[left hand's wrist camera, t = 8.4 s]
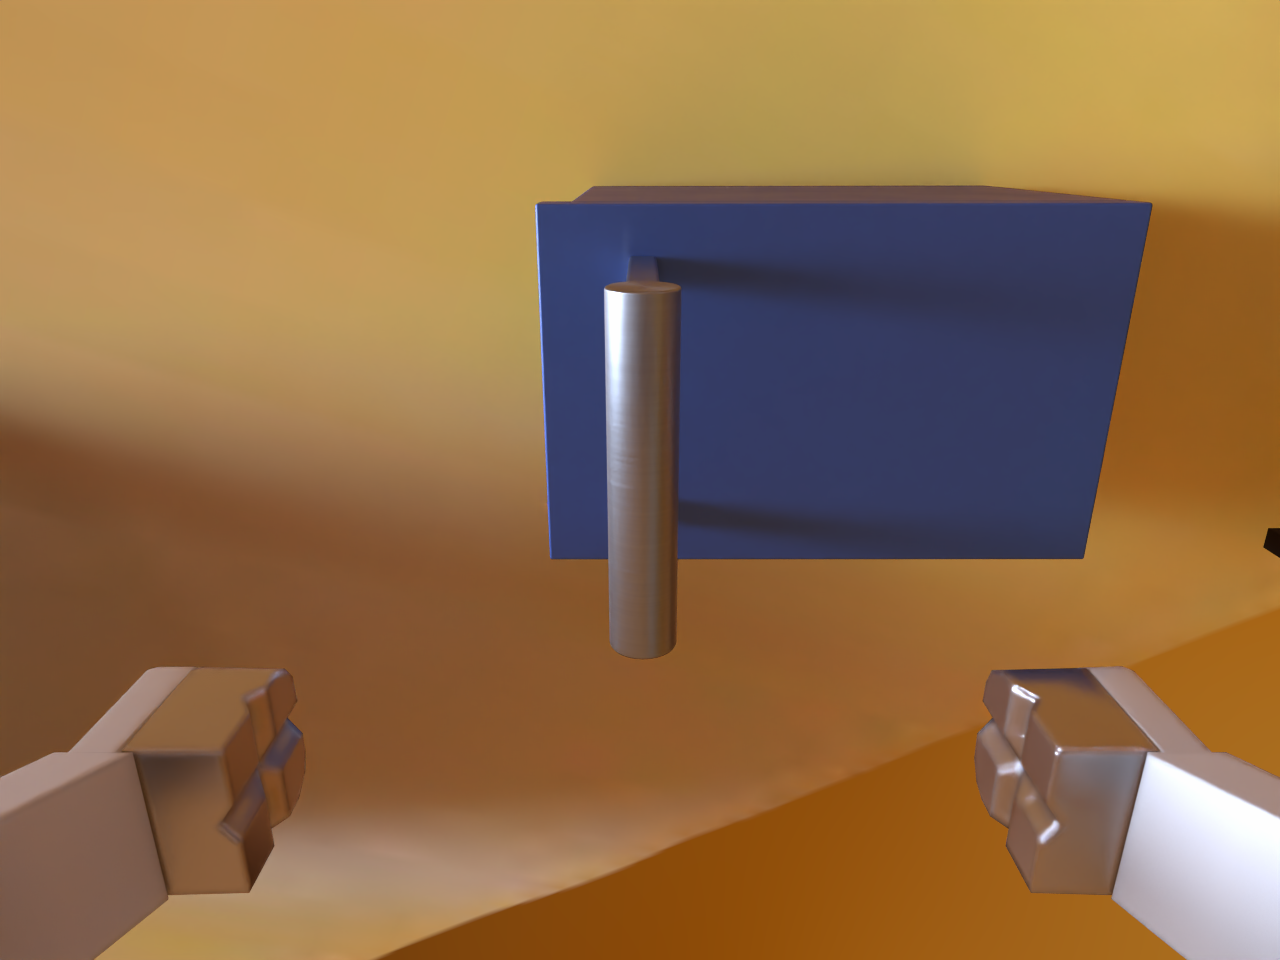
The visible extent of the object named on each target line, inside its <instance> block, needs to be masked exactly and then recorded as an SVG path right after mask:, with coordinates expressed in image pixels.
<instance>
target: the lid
mask: <svg viewBox="0 0 1280 960" xmlns="http://www.w3.org/2000/svg"><path fill="white" fill-rule="evenodd" d="M535 210H536V234H537V258H538V282H539V305H540V329H541V353H542V377H543V401H544V425H545V449H546V473H547V497H548V521H549V545H550V558H551V559H608V561H609V624H610V644H611V646H612V648H613V649H614V650H615V651H616V652H617V653H619V654H621V655H623V656H626V657H629V658H635V659H652V658H657V657H660V656H663V655H665V654H667V653H669V652H670V651H671V650H672V649H673V648H674V646H675V645H676V628H677V561H678V559H1083V558H1084V554H1085V549H1086V543H1087V538H1088V533H1089V528H1090V523H1091V518H1092V513H1093V508H1094V502H1095V497H1096V492H1097V487H1098V482H1099V477H1100V472H1101V467H1102V461H1103V456H1104V451H1105V446H1106V441H1107V436H1108V431H1109V426H1110V420H1111V415H1112V410H1113V405H1114V400H1115V395H1116V390H1117V385H1118V379H1119V374H1120V369H1121V364H1122V359H1123V354H1124V349H1125V343H1126V338H1127V333H1128V328H1129V323H1130V318H1131V313H1132V308H1133V302H1134V297H1135V292H1136V287H1137V282H1138V277H1139V272H1140V267H1141V261H1142V256H1143V251H1144V246H1145V241H1146V236H1147V231H1148V226H1149V220H1150V215H1151V210H1152V203H1149V202H1139V201H600V202H540V203H538V204H536V206H535Z"/></svg>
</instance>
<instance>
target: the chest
mask: <svg viewBox="0 0 1280 960" xmlns="http://www.w3.org/2000/svg"><path fill="white" fill-rule="evenodd" d="M600 201H1126V200H1119V199H1109V198H1099V197H1089V196H1080V195H1070V194H1060V193H1050V192H1041V191H1031V190H1021V189H1011V188H1002V187H992V186H594V187H592V188H590V189H589V190H587V191H586V192H585V193H583V194H582V195H580V196H579V197H578V198H576V199H575V200H574V201H572V202H600Z"/></svg>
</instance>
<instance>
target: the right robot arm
mask: <svg viewBox="0 0 1280 960" xmlns="http://www.w3.org/2000/svg"><path fill="white" fill-rule="evenodd" d="M1263 547H1264V548H1265V549H1267V550H1268V551H1270V552H1271V553H1273V554H1275V555H1276V556H1278V557H1279V558H1280V528H1268V531H1267V535H1266V539H1265V542H1264V546H1263Z"/></svg>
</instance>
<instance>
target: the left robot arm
mask: <svg viewBox="0 0 1280 960" xmlns="http://www.w3.org/2000/svg"><path fill="white" fill-rule="evenodd" d="M296 702H297V697H296V692H295V687H294V682H293V677H292V676H291V675H290V674H289V673H288V672H287V671H286V670H285V669H272V668H222V667H201V668H198V667H157V668H153V669H149V670H147V671H146V672H145V673H144V674H143V675H142V676H141V677H140V678H139V679H138V680H137V681H136V682H135V683H134V684H133V685H132V687H131V688H130V689H129V690H128V691H127V692H126V693H125V694H124V695H123V696H122V697H121V698H120V699H119V700H118V701H117V702H116V703H115V704H114V705H113V706H112V707H111V708H110V709H109V710H108V712H107V713H106V714H105V715H104V716H103V717H102V718H101V719H100V720H99V721H98V722H97V723H96V724H95V725H94V726H93V727H92V728H91V729H90V730H89V731H88V732H87V733H86V734H85V735H84V737H83V738H82V739H81V740H80V741H79V742H78V743H77V744H76V745H75V746H74V747H73V748H72V749H71V750H70V751H69V752H54V753H52V754H49V755H47V756H45V757H43V758H41V759H39V760H37V761H34V762H32V763H30V764H28V765H26V766H24V767H22V768H19V769H17V770H15V771H13V772H11V773H9V774H7V775H4V776H2V777H0V960H94V959H95V958H96V957H97V956H99V955H100V954H101V953H102V952H104V951H105V950H106V949H107V948H109V947H110V946H111V945H112V944H114V943H115V942H116V941H117V940H119V939H120V938H121V937H122V936H123V935H125V934H126V933H127V932H128V931H130V930H131V929H132V928H133V927H135V926H136V925H137V924H138V923H140V922H141V921H142V920H143V919H145V918H146V917H147V916H148V915H149V914H151V913H152V912H153V911H154V910H156V909H157V908H158V907H159V906H161V905H162V904H163V903H164V902H166V901H167V900H168V895H187V894H222V893H249V892H250V890H251V888H252V887H253V885H254V883H255V881H256V879H257V877H258V875H259V873H260V872H261V870H262V868H263V866H264V864H265V862H266V860H267V858H268V857H269V855H270V853H271V851H272V849H273V847H274V841H273V836H272V830H271V829H272V828H273V827H275V826H276V825H278V824H279V823H281V822H282V821H283V820H285V819H286V818H288V817H289V816H290V815H291V813H292V811H293V809H294V807H295V805H296V803H297V801H298V799H299V796H300V792H301V787H302V783H303V779H304V774H305V746H304V740H303V733H302V732H301V731H300V730H299V729H298V728H297V727H296V726H295V725H294V724H293V723H292V722H291V721H290V720H289V719H288V718H287V717H288V715H289V714H290V712H291V711H292V709H293V707H294V706H295V704H296ZM983 702H984V704H985V706H986V707H987V709H988V711H989V712H990V714H991V715H992V717H993V718H992V719H991V720H990V721H989V722H988V723H987V724H986V725H985V726H984V727H983V728H982V729H981V730H980V731H979V732H978V733H977V741H976V749H975V757H974V759H975V770H976V781H977V785H978V788H979V792H980V795H981V798H982V801H983V803H984V805H985V807H986V809H987V811H988V813H989V815H990V816H991V817H992V818H994V819H995V820H997V821H998V822H1000V823H1001V824H1002V825H1004V826H1005V827H1007V828H1008V829H1009V830H1008V836H1007V842H1006V847H1007V849H1008V851H1009V853H1010V855H1011V857H1012V858H1013V860H1014V862H1015V864H1016V866H1017V868H1018V870H1019V871H1020V873H1021V875H1022V877H1023V879H1024V881H1025V883H1026V884H1027V886H1028V888H1029V890H1030V892H1031V893H1056V894H1093V895H1112V900H1114V901H1115V902H1116V903H1117V904H1119V905H1120V906H1121V907H1122V908H1124V909H1125V910H1126V911H1127V912H1128V913H1130V914H1131V915H1132V916H1133V917H1135V918H1136V919H1137V920H1138V921H1140V922H1141V923H1142V924H1143V925H1144V926H1146V927H1147V928H1148V929H1149V930H1151V931H1152V932H1153V933H1154V934H1156V935H1157V936H1158V937H1159V938H1161V939H1162V940H1163V941H1164V942H1166V943H1167V944H1168V945H1169V946H1170V947H1172V948H1173V949H1174V950H1175V951H1177V952H1178V953H1179V954H1180V955H1182V956H1183V957H1184V958H1185V959H1187V960H1280V777H1277V776H1275V775H1273V774H1271V773H1269V772H1267V771H1265V770H1263V769H1261V768H1258V767H1256V766H1254V765H1252V764H1250V763H1248V762H1246V761H1243V760H1241V759H1239V758H1237V757H1235V756H1233V755H1231V754H1229V753H1226V752H1211V751H1210V750H1209V749H1208V748H1207V747H1206V746H1205V745H1204V744H1203V743H1202V742H1201V741H1200V740H1199V739H1198V737H1197V736H1196V735H1195V734H1194V733H1193V732H1192V731H1191V730H1190V729H1189V728H1188V727H1187V726H1186V725H1185V724H1184V723H1183V722H1182V721H1181V720H1180V719H1179V718H1178V717H1177V716H1176V715H1175V713H1174V712H1173V711H1172V710H1171V709H1170V708H1169V707H1168V706H1167V705H1166V704H1165V703H1164V702H1163V701H1162V700H1161V699H1160V698H1159V697H1158V696H1157V695H1156V694H1155V693H1154V692H1153V691H1152V690H1151V688H1150V687H1149V686H1148V685H1147V684H1146V683H1145V682H1144V681H1143V680H1142V679H1141V678H1140V677H1139V676H1138V675H1137V674H1136V673H1135V672H1134V671H1133V670H1130V669H1128V668H1125V667H1123V666H1113V667H1086V668H1064V669H1022V670H992V671H991V673H990V675H989V677H988V679H987V681H986V685H985V691H984V696H983Z"/></svg>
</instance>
